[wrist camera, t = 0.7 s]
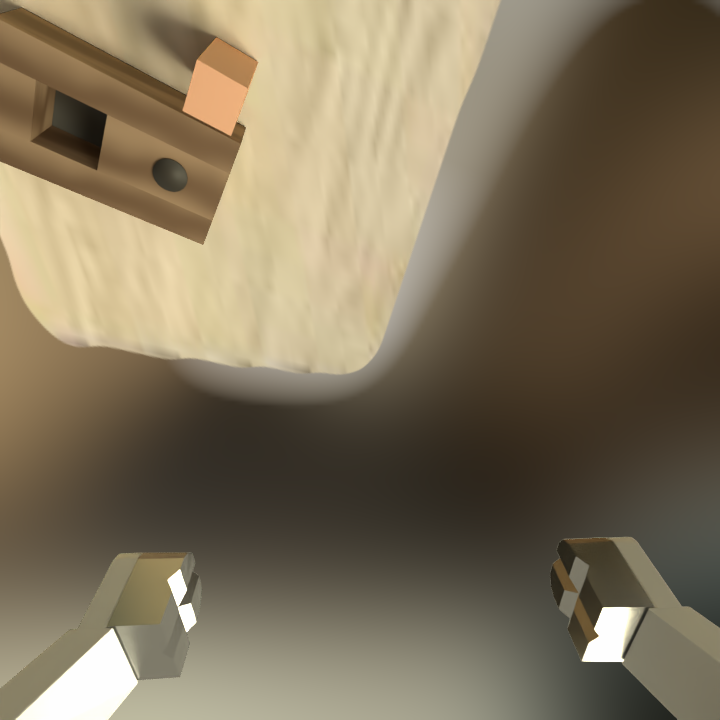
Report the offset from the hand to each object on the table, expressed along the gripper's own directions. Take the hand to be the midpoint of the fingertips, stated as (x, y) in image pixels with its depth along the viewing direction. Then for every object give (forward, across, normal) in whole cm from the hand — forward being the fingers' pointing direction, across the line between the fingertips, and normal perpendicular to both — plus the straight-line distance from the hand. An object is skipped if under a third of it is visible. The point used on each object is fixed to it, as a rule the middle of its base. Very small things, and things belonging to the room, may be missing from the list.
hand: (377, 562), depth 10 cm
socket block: (+46, +22, -7) cm, 51 cm away
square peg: (+45, +11, -12) cm, 48 cm away
